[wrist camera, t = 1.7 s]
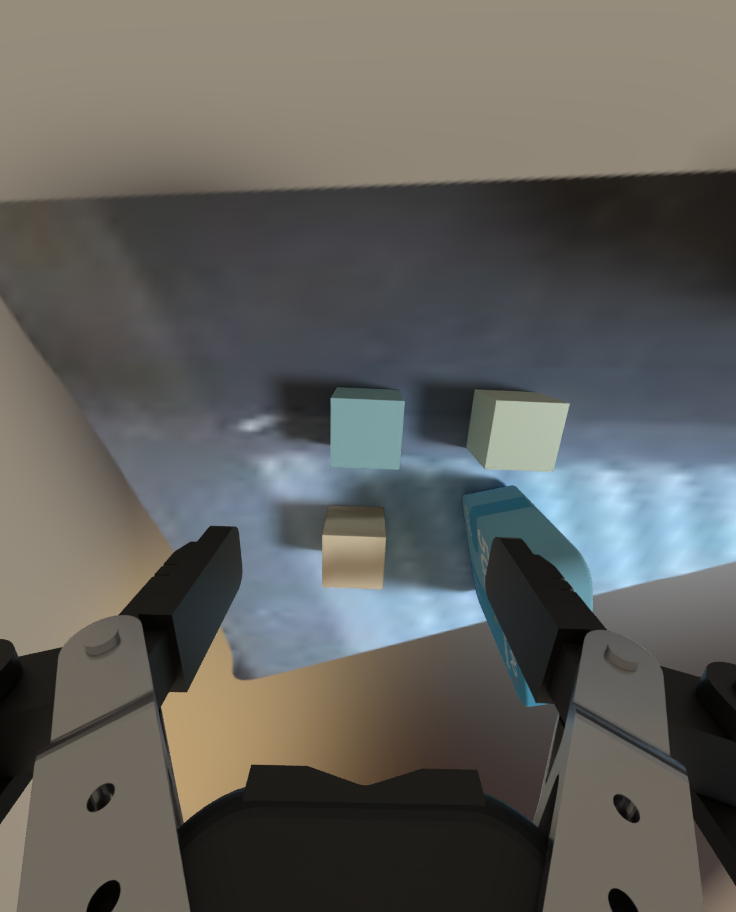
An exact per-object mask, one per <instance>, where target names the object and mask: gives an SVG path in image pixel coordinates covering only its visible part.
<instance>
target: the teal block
mask: <svg viewBox="0 0 736 912" xmlns="http://www.w3.org/2000/svg"><path fill="white" fill-rule="evenodd" d="M404 405H405V401H404V399H403V397H402V395H401V393H400V391H399V390H391V389H368V388H344V387H337V388H336V390H335V392H334V393H333V395H332V397H331V461H330V467H345V468H371V469H396V470H399V468H400V456H401V443H402V430H403V418H404Z"/></svg>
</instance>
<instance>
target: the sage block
mask: <svg viewBox="0 0 736 912" xmlns="http://www.w3.org/2000/svg"><path fill="white" fill-rule="evenodd" d="M568 408H569V403H566V402H563V401H561V400H558V399H555V398H552V397H549V396H546V395H543V394H540V393H537V392H523V391H500V390H477V389H475V391H474V398H473V405H472V412H471V418H470V425H469V432H468V439H467V445H466V448H467V449H468V450H469V452H470V453H471V454H472V455H473V456H474V457H475V458H476V460H477V461H478V462H479V463H480V464H481V465H482V466H483V468H484V469H496V470H521V471H546V472H553V470H554V466H555V461H556V457H557V453H558V449H559V445H560V441H561V437H562V433H563V429H564V425H565V421H566V416H567V412H568Z"/></svg>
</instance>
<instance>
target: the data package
mask: <svg viewBox="0 0 736 912" xmlns="http://www.w3.org/2000/svg"><path fill="white" fill-rule="evenodd" d="M462 504H463V511H464V518H465V525H466V532H467V539H468V545H469V552H470V559H471V566H472V573H473V580H474V586H475V590H476V594H477V597H478V600H479V603H480V605H481V608H482V610H483V613H484V615H485V617H486V620H487V622H488V625H489V627H490V629H491V632H492V634H493V637H494V639H495V641H496V644H497V646H498V649H499V651H500V654H501V656H502V658H503V661H504V663H505V665H506V668H507V670H508V673H509V675H510V678H511V680H512V682H513V685H514V687H515V690H516V692H517V694H518V696H519V698H520V700H521V702H522V703H523V704H524V705H525V706H527V707H530V706H537V705H544V703H536V702H535V700H534V698H533V696H532V694H531V691H530V689H529V687H528V685H527V683H526V681H525V678H524V676H523V674H522V672H521V670H520V667H519V665H518V663H517V661H516V659H515V657H514V654H513V652H512V650H511V648H510V646H509V644H508V641H507V639H506V637H505V635H504V633H503V630H502V628H501V626H500V624H499V622H498V620H497V617H496V615H495V613H494V611H493V609H492V607H491V604H490V602H489V600H488V598H487V594H486V589H485V576H486V571H487V566H488V561H489V556H490V550H491V545H492V541H493V539H494V538H495V537H518V538H521V539H523V540H524V542H525V543H526V544H527V546H528V547H529V548H530V550H531V551H532V552H533V554H538V555H540V556H542V557H543V558H545V559H546V560H547V561H549V562H550V563H552V564H553V565H554V566H555V567H556V568H557V569H558V570H559V572H560V573H561V574H562V575H563V577H564V578H565V581H567V582H568V583H569V584H570V585H571V586H572V588H573V589H574V592H576V593H577V594H578V595H579V596H580V597H581V599H582V600H583V601H584V602H585V604H586V605H587V606H588V607H589V609H590V610H591V611H592V610H593V605H592V604H593V586H592V578H591V574H590V571H589V568H588V566H587V564H586V562H585V560H584V558H583V556H582V555H581V553H580V552H579V551H578V550H577V549H576V548H575V547H574V546H573V544H572V543H571V542H570V541H569V540H568V539H567V538H566V537H565V536H564V535H563V534H562V533H561V532H560V531H559V530H558V529H557V528H556V527H555V526H554V525H553V524H552V523H551V522H550V521H549V520H548V519H547V518H546V517H545V516H544V515H543V514H542V513H541V512H540V511H539V510H538V509H537V508H536V507H535V506H534V504H533V503H532V502H531V501H530V500H529V499H528V498H527V497H526V496H525V495H524V494H523V493H522V492H521V491H520V490H519V489H518V488H517V487H515V486H513V485H512V486H506V487H501V488H496V489H491V490H486V491H481V492H476V493H471V494H466V495H464V496H463V499H462ZM592 612H593V611H592Z"/></svg>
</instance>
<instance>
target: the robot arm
mask: <svg viewBox="0 0 736 912" xmlns="http://www.w3.org/2000/svg"><path fill="white" fill-rule="evenodd" d="M241 579H242V559H241V549H240V539H239V531H238V528H237V527H231V526H210V527H209V528H208V529H207V530H206V531H205V533H204V534H203V535H202V536H201V537H200V539H199V540H198V541H197V542H189V543H188V544H186V545H184V546H183V547H181V548H180V549H178V550H176V551H175V552H174V553H173V554H172V555H171V556H170V557H169V559H168V560H167V561H166V562H165V563H164V566H162V567H161V568H160V569H159V570H158V571H157V572H156V573H155V576H154V577H152V578H151V579H150V580H149V581H148V582H147V583H146V585H145V586H144V587H143V588H142V589H141V590H140V591H139V593H138V594H137V595H136V596H135V597H134V598H133V599H132V600H131V601H130V603H129V604H128V605H127V606H126V607H125V608H124V609H123V611H122V612H121V613H120V614H119V615H118V616H113V617H108V618H105V619H101V620H99V621H96V622H94V623H92V624H90V625H88V626H87V627H85V628H83V629H82V630H80V631H79V632H78V633H76V634H75V635H74V636H73V637H71V638H70V639H69V640H68V641H67V643H66V644H65V645H64V646H63V647H61V648H56V649H52V650H47V651H43V652H38V653H33V654H29V655H24V656H20V657H18V655H17V652H16V650H15V647H14V645H13V644H12V643H11V642H10V641H8V640H4V639H0V824H1V822H2V821H3V819H4V818H5V817H6V815H7V814H8V812H9V811H10V809H11V808H12V806H13V805H14V804H15V802H16V801H17V799H18V798H19V797H20V795H21V794H22V792H23V791H24V789H25V788H26V787H27V785H28V784H29V782H30V781H31V779H32V778H33V782H32V790H31V798H30V806H29V815H28V823H27V831H26V840H25V847H24V856H23V864H22V872H21V881H20V888H19V897H18V905H17V912H704V905H703V897H702V888H701V879H700V872H699V863H698V855H697V847H696V838H695V830H694V821H693V819H694V820H695V822H696V824H697V825H698V827H699V828H700V830H701V831H702V833H703V835H704V836H705V838H706V839H707V841H708V843H709V844H710V846H711V847H712V849H713V850H714V852H715V854H716V855H717V857H718V858H719V860H720V862H721V863H722V865H723V866H724V868H725V870H726V871H727V873H728V874H729V876H730V877H731V879H732V881H733V882H734V884H735V885H736V665H735V664H730V663H725V662H713V663H710V664H709V665H708V666H707V667H706V669H705V671H704V673H703V675H702V677H697V676H694V675H690V674H687V673H683V672H680V671H676V670H673V669H669V668H665V667H662V666H660V665H659V664H658V662H657V661H656V660H655V658H654V657H653V656H652V655H651V654H650V653H649V652H648V651H647V650H645V649H644V648H643V647H641V646H640V645H639V644H637V643H636V642H634V641H633V640H631V639H629V638H627V637H625V636H623V635H620V634H618V633H615V632H611V631H607V629H606V628H605V627H604V626H603V625H602V624H601V622H600V621H599V620H598V618H597V617H596V616H595V615H594V613H593V612H592V611H591V610H590V609H589V607H588V606H587V605H586V604H585V602H584V601H583V600H582V599H581V597H580V596H579V595H578V594H577V593H576V592H574V589H573V588H572V586H571V585H570V584H569V583H568V582H567V581H565V578H564V577H563V575H562V574H561V573H560V572H559V570H558V569H557V568H556V567H555V566H554V565H553V564H552V563H550V562H549V561H547V560H546V559H545V558H543V557H542V556H540V555H538V554H533V552H532V551H531V550H530V548H529V547H528V546H527V544H526V543H525V542H524V540H523V539H521V538H518V537H495V538H494V539H493V541H492V545H491V550H490V556H489V561H488V566H487V571H486V576H485V589H486V594H487V598H488V600H489V602H490V604H491V607H492V609H493V611H494V613H495V615H496V617H497V620H498V622H499V624H500V626H501V628H502V630H503V633H504V635H505V637H506V639H507V641H508V644H509V646H510V648H511V650H512V652H513V654H514V657H515V659H516V661H517V663H518V665H519V667H520V670H521V672H522V674H523V676H524V678H525V681H526V683H527V685H528V687H529V689H530V691H531V694H532V696H533V698H534V700H535V702H536V703H544V704H555V706H556V708H557V710H558V712H559V715H558V718H557V721H556V725H555V730H554V734H553V739H552V744H551V749H550V753H549V758H548V762H547V767H546V772H545V776H544V781H543V786H542V791H541V795H540V800H539V803H538V807H537V810H536V814H535V817H534V821H533V823H532V822H531V821H530V820H529V819H527V818H526V817H525V816H524V815H522V814H521V813H520V812H518V811H517V810H515V809H514V808H512V807H511V806H509V805H508V804H506V803H505V802H503V801H501V800H499V799H497V798H495V797H493V796H491V795H488V794H485V793H483V790H482V786H481V782H480V778H479V774H478V771H477V770H460V769H420V770H416V771H414V772H410V773H407V774H404V775H401V776H397V777H394V778H391V779H388V780H385V781H381V782H378V783H375V784H372V785H367V786H366V785H359V784H356V783H353V782H351V781H348V780H345V779H342V778H340V777H337V776H334V775H331V774H328V773H326V772H323V771H320V770H317V769H314V768H311V767H308V766H285V765H251V768H250V772H249V776H248V780H247V783H246V787H244V788H241V789H237V790H235V791H233V792H231V793H229V794H226V795H224V796H222V797H220V798H218V799H217V800H215V801H213V802H212V803H210V804H208V805H207V806H205V807H204V808H203V809H201V810H200V811H198V812H197V813H196V814H195V815H193V816H192V817H190V818H189V819H188V820H187V821H186V822H185V823H184V822H183V817H182V812H181V807H180V803H179V798H178V793H177V788H176V783H175V778H174V772H173V767H172V762H171V756H170V751H169V746H168V741H167V735H166V730H165V725H164V719H163V715H162V710H161V705H162V704H163V702H164V700H165V698H166V696H167V694H168V693H169V692H187V691H188V689H189V687H190V685H191V683H192V681H193V679H194V677H195V675H196V673H197V671H198V669H199V667H200V665H201V663H202V661H203V659H204V657H205V655H206V653H207V651H208V649H209V647H210V645H211V643H212V641H213V639H214V637H215V635H216V633H217V631H218V629H219V627H220V625H221V623H222V621H223V619H224V617H225V615H226V613H227V611H228V609H229V607H230V605H231V603H232V601H233V599H234V597H235V595H236V593H237V591H238V589H239V587H240V584H241Z"/></svg>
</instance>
